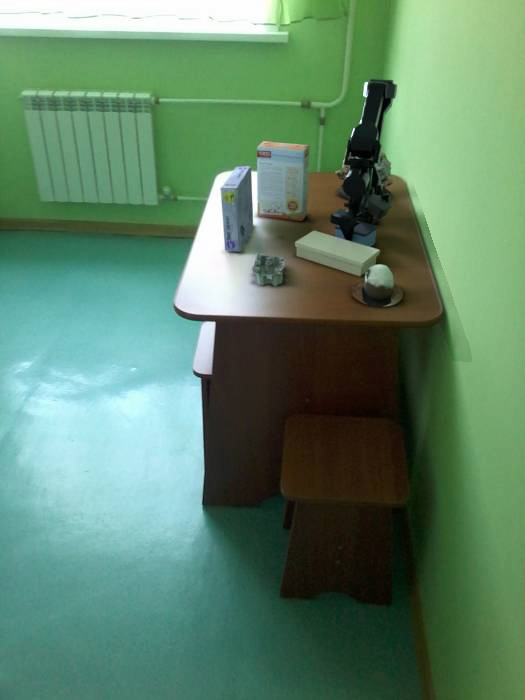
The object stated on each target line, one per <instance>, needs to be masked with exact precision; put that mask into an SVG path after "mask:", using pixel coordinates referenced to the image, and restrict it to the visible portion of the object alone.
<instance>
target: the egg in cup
mask: <svg viewBox="0 0 525 700" xmlns="http://www.w3.org/2000/svg"><path fill="white" fill-rule="evenodd" d="M351 294H352V296H353V297H354V299H356V300H357V301H358V302H360V303H362V304H365V305H367V306H370V307H377V308H381V307H390V306H394V305H396V304H398V303H400V301H402V299H403V296H404V291H403V290H402V288H401V287H400V285H398V284H396V283H395V280H394V275H393V273H392V271H391V269H390V267H388V265H386V264H380V263H378V264H376V265H374V266H372V267H370V268H369V269H368V271H367V272H365V273H364V278H363V279H361V280H359V281H357V282H355V283H354V284H353V285H352V287H351Z"/></svg>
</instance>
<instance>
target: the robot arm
mask: <svg viewBox="0 0 525 700" xmlns="http://www.w3.org/2000/svg"><path fill="white" fill-rule="evenodd" d="M397 92H398V84H395V83H394V80H393V79H387V78H386V79H385V78H370V80H369V81H368V82H367V81H365V82H364V84H363V93H362V97H365V102H364V106H363V110H362V114H361V118H360V122H359V124H357V125H356V126H355V127H354V128H353V129H352V133H351V137H348V140H347V145H346V150H345V152H346V156H345V155H344V158H345V162H344V165H348V166H350V170H349V173H348V174H347V176H346V178H345V180H343V182H342V185H343V190H344V192H345V194H346V195H348V199H347V201H345V202H344V203H343V207H344V208H348V209H343V208H339V209H337V210H336V211H334V212H332V213H331V214H330V217H329V223H330V224H333V225H335V226H336V225H339V227H340V229H341V231H342V233H343V235H344V238H345V240H348V241H352V237H353V233H354V228H355V227H356V226H357V225H358V224H360V223H359V222H357V221H360V222H364V223H367V224H371V225H375V224H377V223H378V222H379V220H381V219H382V218H384V217H386V216H387V214H388V212H389V210H390V209H391V208H392V207H393V206H392V204H393V202H392V200H393V199H392V197H393V196H392V194H390V195H389V194H388V193H387V194H385V195H384V196H383V190H382V185H380V177H379V175H378V172H377V163H378V162H379V157H380V152H382V144H381V142H382V136H383V129H384V124H385V123H384V122H385V118H386V117H385V116H386V114H387V113H388V112H389V111H390V109H391V108H392V107H393V102H394V100H396V97H397ZM350 152H351V156H352V157H357V159H355V158H349V155H350ZM348 159H349V160H348Z"/></svg>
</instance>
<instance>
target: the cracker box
mask: <svg viewBox="0 0 525 700" xmlns="http://www.w3.org/2000/svg"><path fill="white" fill-rule="evenodd" d="M309 169H310V145H309V144H299V143H298V144H297V143H288V142H287V143H286V142H276V141H265V140H263V141H262V142H261V143H259V145H258V146H256V183H257V185H256V186H257V188H256V189H257V194H256V195H257V197H256V199H257V201H256V202H257V216H258V217H263V218H264V217H265V218H273V219H281V220H289V221H297V222H303V221H304V220H305V218H306V216H307V215H308V200H309V199H308V198H309V173H310V171H309Z"/></svg>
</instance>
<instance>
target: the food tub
mask: <svg viewBox="0 0 525 700" xmlns="http://www.w3.org/2000/svg"><path fill="white" fill-rule="evenodd" d="M357 222H359V223H360V224H358V225H357V226H356V227H355V228H354V233H353V237H352V241H351V242H355V243H358V244H362V245H365V246H368V247H373V246H374V245H375V244H376V236H377V230H378V229H379V228H378V226H377V225H375V224H373V225H371V224H367V223H364V222H360V221H357ZM334 229H335V230H334V231H335V234H334V237H338V238H341V239H345V238H344V235H343V233H342V231H341V229H340V227H339V225H336V224H335V225H334Z"/></svg>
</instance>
